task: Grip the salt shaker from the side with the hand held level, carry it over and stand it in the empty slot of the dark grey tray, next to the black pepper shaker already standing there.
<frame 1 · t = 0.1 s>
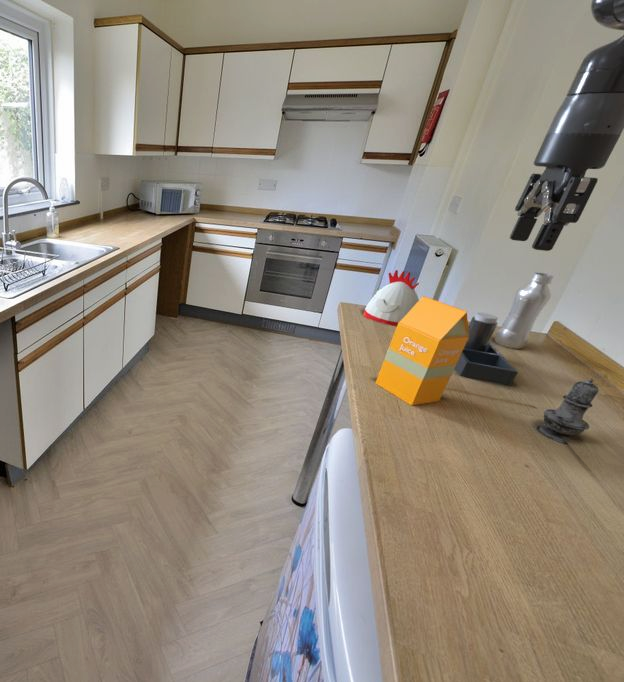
hand: (528, 244, 66), 33 cm above the countertop, tool pointing down, fingers open, 8 cm apart
orange juice: (406, 392, 87), on the countertop
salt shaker: (555, 435, 75), on the countertop
pepper shaker: (467, 357, 102), point 1 cm above the countertop, touching dark grey tray
kitchen timer: (388, 319, 125), on the countertop
dark grey tray: (471, 366, 99), on the countertop
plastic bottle: (506, 346, 111), on the countertop
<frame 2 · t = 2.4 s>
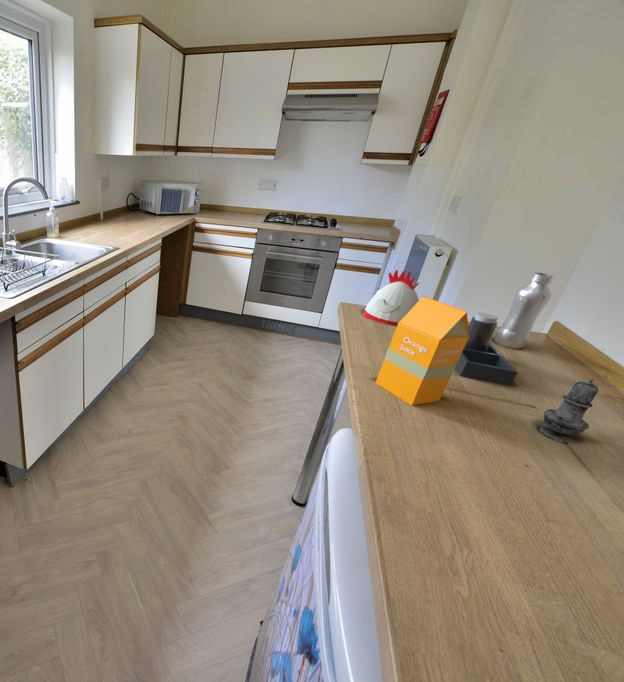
nothing on the countertop moved.
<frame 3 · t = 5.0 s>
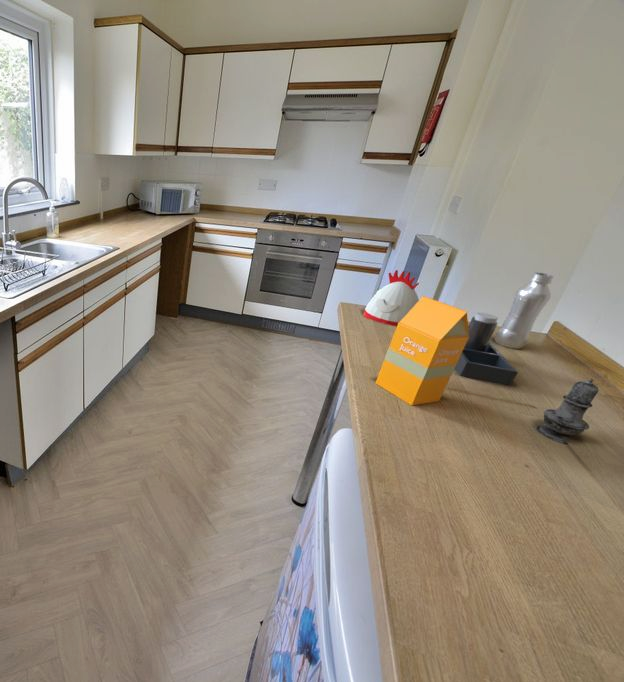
nothing on the countertop moved.
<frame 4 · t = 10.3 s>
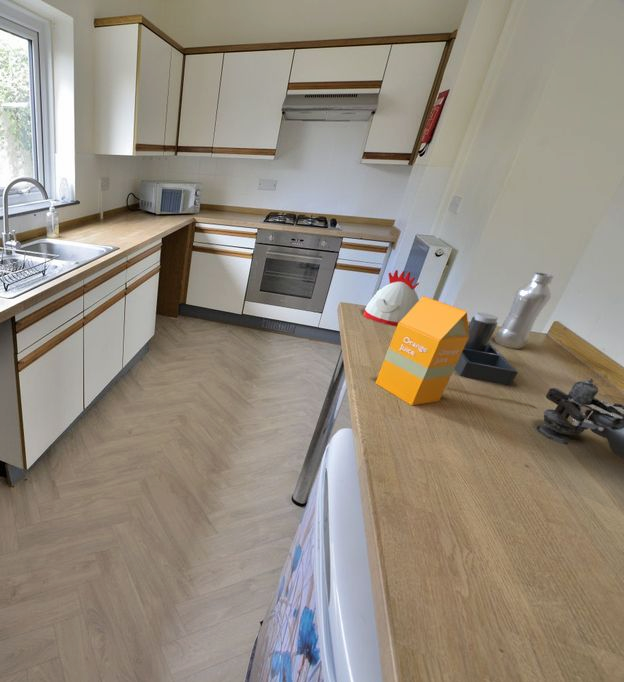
hand: (562, 393, 74), 7 cm above the countertop, tool horizontal, fingers closed on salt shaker, 3 cm apart
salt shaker: (555, 435, 75), on the countertop, touching gripper
everything else where it was.
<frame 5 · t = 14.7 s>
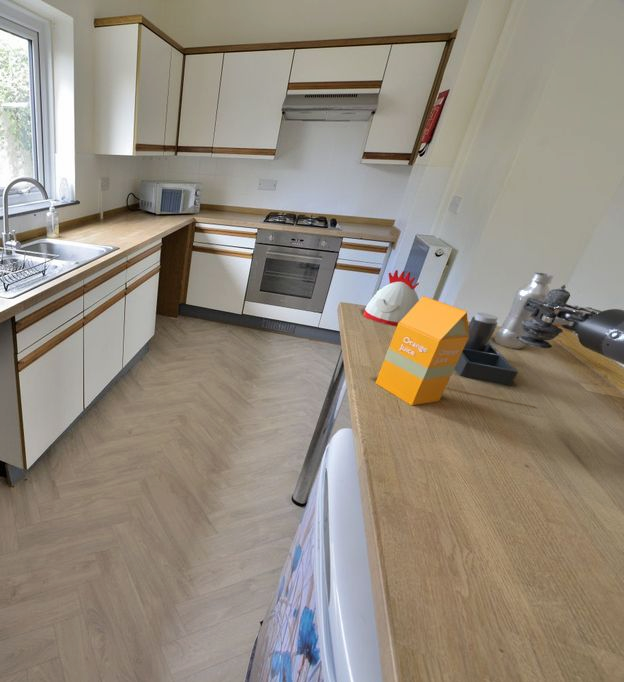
hand: (539, 304, 81), 20 cm above the countertop, tool horizontal, fingers closed on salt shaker, 3 cm apart
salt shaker: (532, 343, 82), point 12 cm above the countertop, touching gripper
everything else where it was.
when the fingers open (8 cm above the countertop, at t = 19.4 s): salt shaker stays where it is, resting on dark grey tray.
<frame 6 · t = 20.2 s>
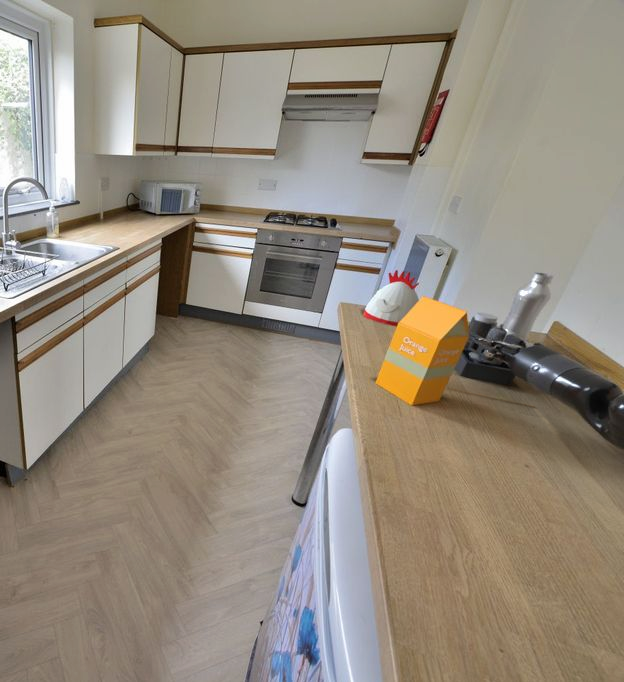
hand: (487, 337, 93), 9 cm above the countertop, tool horizontal, fingers open, 8 cm apart
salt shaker: (478, 372, 95), point 1 cm above the countertop, touching dark grey tray
everything else where it was.
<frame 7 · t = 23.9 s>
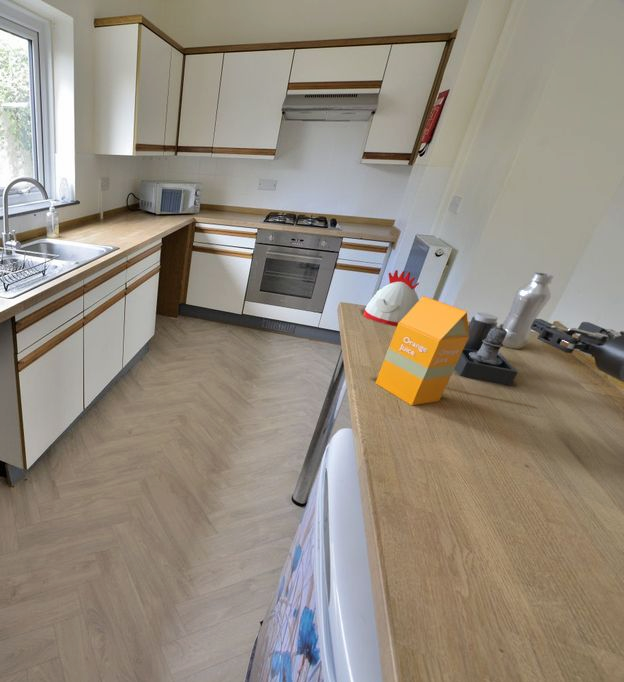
hand: (557, 324, 78), 17 cm above the countertop, tool horizontal, fingers open, 8 cm apart
nothing on the countertop moved.
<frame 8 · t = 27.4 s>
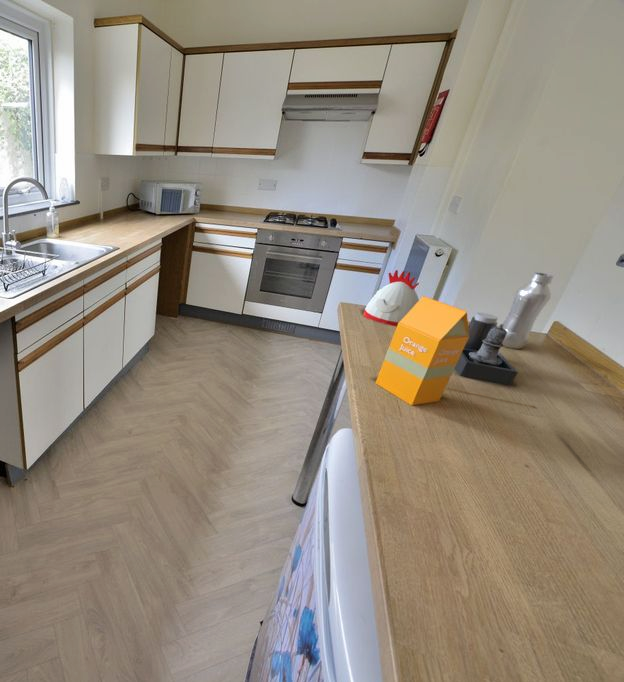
nothing on the countertop moved.
at the end: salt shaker 0.2 cm from the target spot in the dark grey tray, point 0.6 cm above the dark grey tray's base; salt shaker tilted 0°; pepper shaker moved 0.0 cm from its start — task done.
